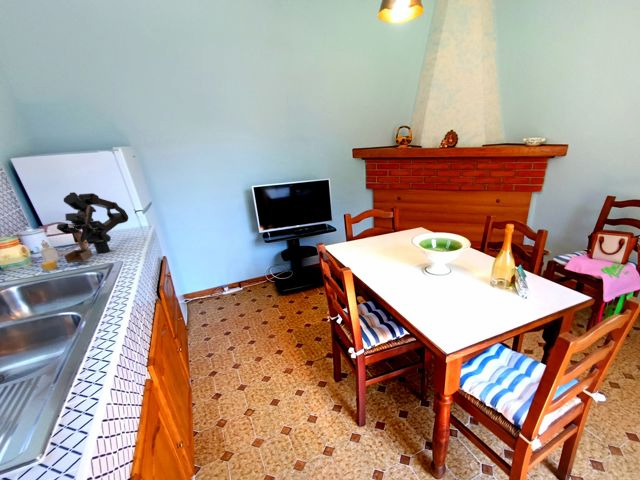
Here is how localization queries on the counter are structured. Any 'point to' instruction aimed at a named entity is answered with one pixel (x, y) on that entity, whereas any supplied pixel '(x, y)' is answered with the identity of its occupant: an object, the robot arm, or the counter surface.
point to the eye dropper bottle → (48, 252)
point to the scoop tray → (79, 252)
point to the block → (49, 265)
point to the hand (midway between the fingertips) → (78, 242)
